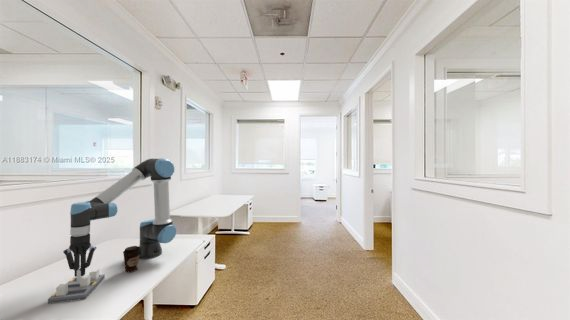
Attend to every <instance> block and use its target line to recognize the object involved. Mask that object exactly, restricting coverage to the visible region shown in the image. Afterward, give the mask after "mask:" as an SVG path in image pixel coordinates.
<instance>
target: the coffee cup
mask: <svg viewBox="0 0 570 320" xmlns="http://www.w3.org/2000/svg"><path fill="white" fill-rule="evenodd" d="M139 248H140V247H139V245H132V246H131V245H130V246H127V247H126V248H125V249H124V251H123V252H122V255H123V262H124V263H123V266H124V271H125V273H134V272H136V271H138V269H139V268H138V265H139V259H140V258H139V251H140V250H139Z"/></svg>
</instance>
